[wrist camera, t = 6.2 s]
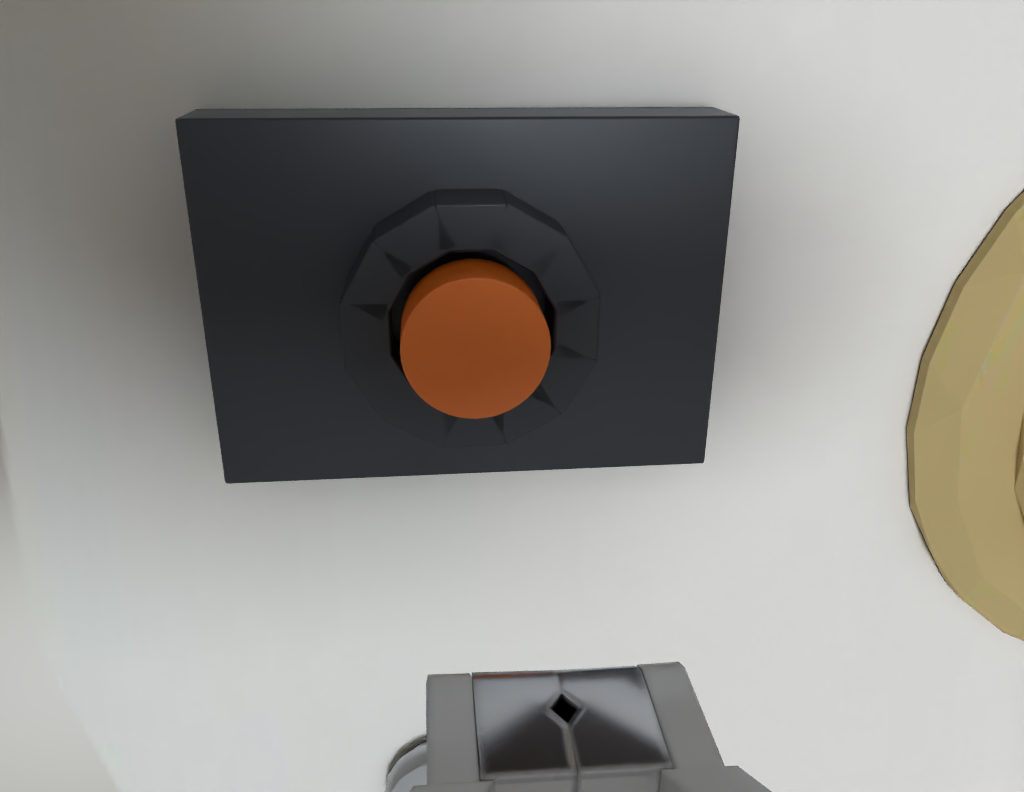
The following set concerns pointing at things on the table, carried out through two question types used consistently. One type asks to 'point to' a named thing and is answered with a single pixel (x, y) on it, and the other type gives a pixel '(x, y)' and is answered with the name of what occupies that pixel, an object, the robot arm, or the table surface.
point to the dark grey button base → (445, 238)
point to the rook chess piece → (409, 770)
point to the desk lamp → (976, 431)
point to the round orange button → (473, 339)
